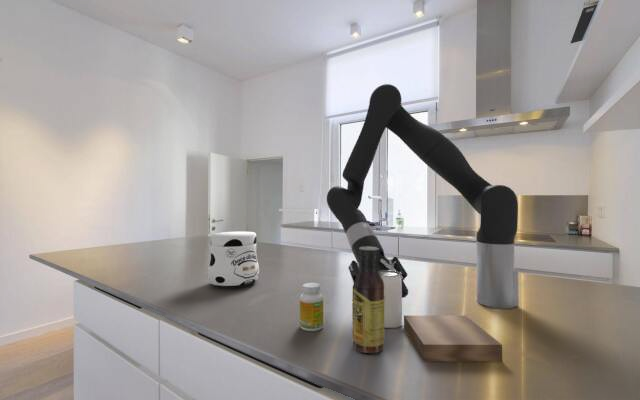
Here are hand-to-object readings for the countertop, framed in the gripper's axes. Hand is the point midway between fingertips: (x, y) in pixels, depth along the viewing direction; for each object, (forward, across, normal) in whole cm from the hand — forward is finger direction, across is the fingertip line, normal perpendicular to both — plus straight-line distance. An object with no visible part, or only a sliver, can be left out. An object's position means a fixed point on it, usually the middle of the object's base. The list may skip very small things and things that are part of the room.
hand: (390, 298), depth 71 cm
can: (+4, 0, +5) cm, 7 cm away
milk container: (-32, -28, +41) cm, 59 cm away
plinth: (+13, +5, -4) cm, 14 cm away
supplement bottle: (0, -17, +10) cm, 20 cm away
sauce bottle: (+10, -11, 0) cm, 15 cm away
